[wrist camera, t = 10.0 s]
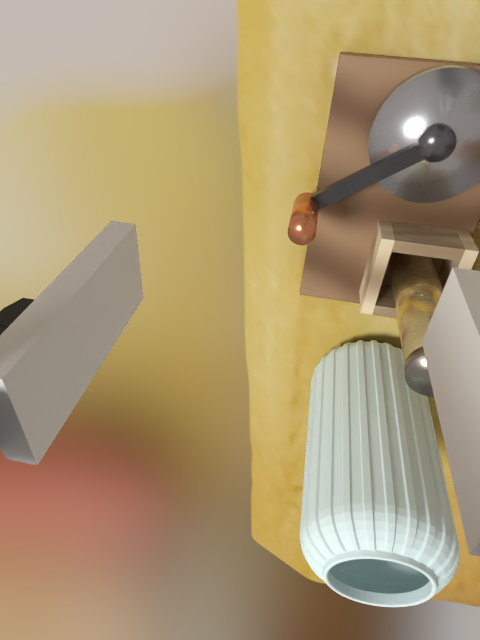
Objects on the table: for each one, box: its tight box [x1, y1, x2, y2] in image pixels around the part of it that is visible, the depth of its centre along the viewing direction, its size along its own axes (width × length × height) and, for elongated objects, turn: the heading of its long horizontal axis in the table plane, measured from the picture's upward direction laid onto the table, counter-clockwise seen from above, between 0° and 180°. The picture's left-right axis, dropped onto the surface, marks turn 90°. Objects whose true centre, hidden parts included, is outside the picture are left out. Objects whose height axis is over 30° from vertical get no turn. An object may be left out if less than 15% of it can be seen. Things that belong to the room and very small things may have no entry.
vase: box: [300, 340, 460, 607], centre depth 39 cm, size 12×12×22 cm
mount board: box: [300, 52, 480, 303], centre depth 36 cm, size 20×13×2 cm, turn 177°
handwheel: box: [288, 65, 480, 245], centre depth 30 cm, size 9×16×6 cm, turn 122°
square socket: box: [359, 220, 479, 318], centre depth 37 cm, size 7×7×4 cm
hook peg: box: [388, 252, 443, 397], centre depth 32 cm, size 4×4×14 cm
